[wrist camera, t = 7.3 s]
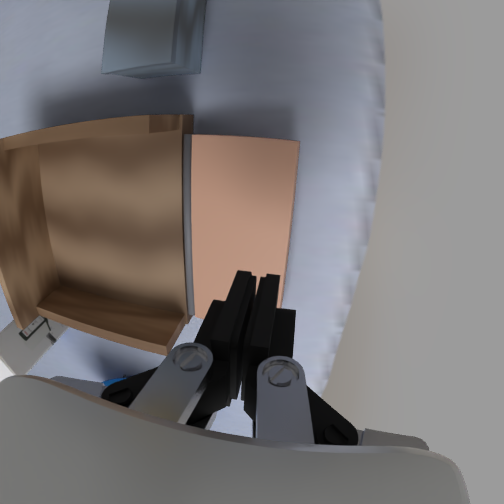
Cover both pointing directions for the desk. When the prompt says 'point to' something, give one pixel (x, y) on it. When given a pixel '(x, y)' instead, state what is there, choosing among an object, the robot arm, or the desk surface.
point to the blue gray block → (153, 38)
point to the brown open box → (97, 228)
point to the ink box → (27, 345)
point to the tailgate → (235, 212)
